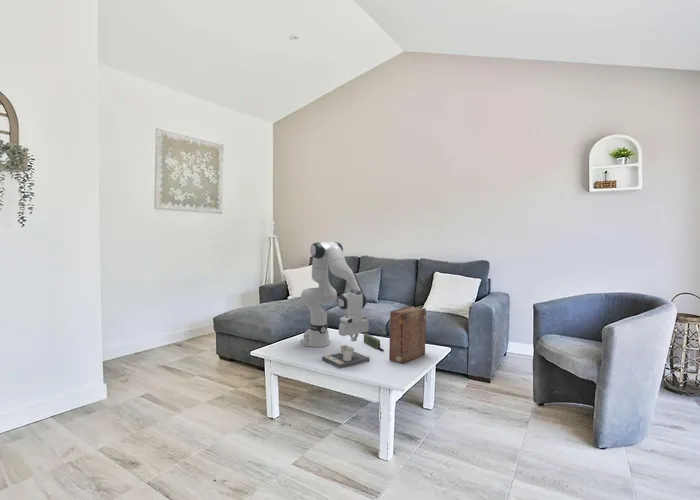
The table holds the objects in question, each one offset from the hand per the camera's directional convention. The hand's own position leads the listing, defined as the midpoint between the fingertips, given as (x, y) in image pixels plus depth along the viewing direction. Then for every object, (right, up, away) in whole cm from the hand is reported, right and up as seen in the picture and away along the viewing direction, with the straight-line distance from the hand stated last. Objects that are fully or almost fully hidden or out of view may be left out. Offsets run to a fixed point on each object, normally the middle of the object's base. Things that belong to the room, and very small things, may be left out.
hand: (353, 341), depth 228 cm
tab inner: (-6, -10, +9) cm, 15 cm away
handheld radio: (+14, -12, +33) cm, 37 cm away
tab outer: (-4, -10, -3) cm, 12 cm away
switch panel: (-5, -12, +3) cm, 14 cm away
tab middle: (-2, -10, +5) cm, 12 cm away
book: (+33, -13, +11) cm, 37 cm away
